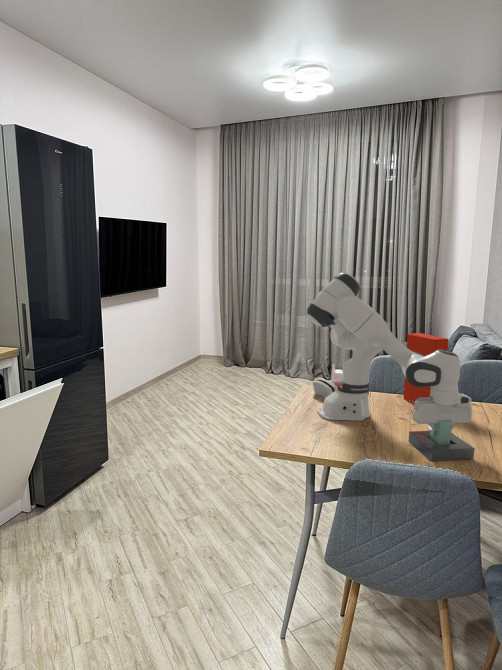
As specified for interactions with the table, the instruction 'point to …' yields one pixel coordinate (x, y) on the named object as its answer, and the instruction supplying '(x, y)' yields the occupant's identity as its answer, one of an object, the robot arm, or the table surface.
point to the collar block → (441, 447)
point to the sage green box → (442, 432)
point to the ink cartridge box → (336, 376)
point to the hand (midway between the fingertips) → (440, 434)
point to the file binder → (425, 347)
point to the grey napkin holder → (323, 387)
